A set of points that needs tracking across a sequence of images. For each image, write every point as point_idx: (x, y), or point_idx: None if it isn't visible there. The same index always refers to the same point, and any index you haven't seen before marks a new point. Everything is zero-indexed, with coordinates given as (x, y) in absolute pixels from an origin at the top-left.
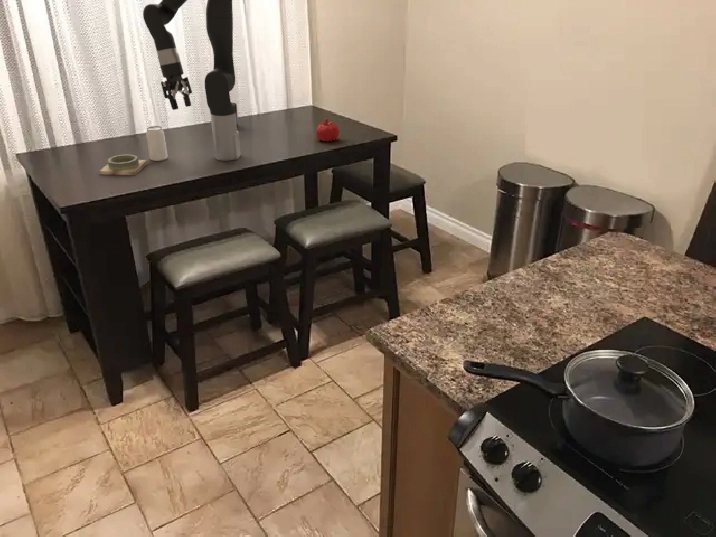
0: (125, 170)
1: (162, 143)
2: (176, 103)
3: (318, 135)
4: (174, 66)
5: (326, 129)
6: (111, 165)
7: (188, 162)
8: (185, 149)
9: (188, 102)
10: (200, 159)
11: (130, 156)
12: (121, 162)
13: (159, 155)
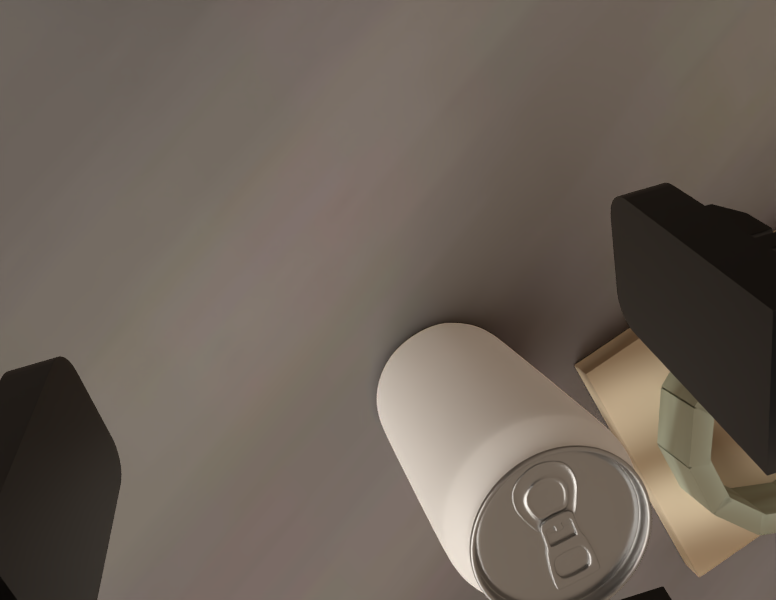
0: None
1: (496, 370)
2: (708, 236)
3: None
4: None
5: None
6: None
7: (369, 89)
8: (116, 428)
9: (54, 431)
10: (235, 58)
11: (705, 451)
12: (720, 476)
13: (503, 343)
